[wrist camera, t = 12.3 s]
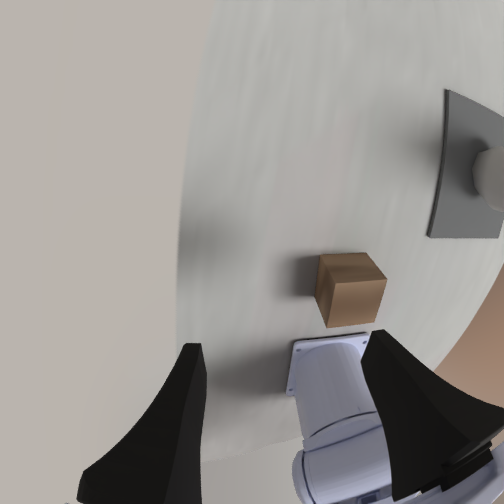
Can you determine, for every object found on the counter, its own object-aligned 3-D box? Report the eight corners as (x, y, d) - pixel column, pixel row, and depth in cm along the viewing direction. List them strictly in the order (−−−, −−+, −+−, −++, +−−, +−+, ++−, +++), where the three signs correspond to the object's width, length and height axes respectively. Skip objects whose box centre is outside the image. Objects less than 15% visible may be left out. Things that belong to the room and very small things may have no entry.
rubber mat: (496, 236, 21) (498, 238, 21) (427, 236, 20) (429, 238, 20) (515, 125, 15) (517, 125, 15) (446, 89, 14) (449, 89, 14)
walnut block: (356, 292, 23) (374, 322, 19) (314, 295, 23) (326, 328, 19) (365, 252, 21) (387, 279, 17) (319, 254, 21) (335, 283, 17)
